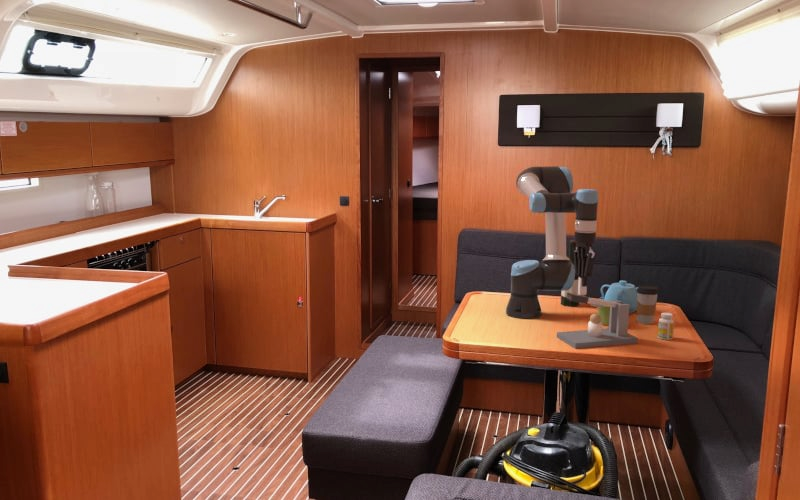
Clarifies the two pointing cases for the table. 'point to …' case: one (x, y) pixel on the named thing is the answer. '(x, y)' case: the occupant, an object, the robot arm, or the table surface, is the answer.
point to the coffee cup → (646, 303)
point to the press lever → (591, 300)
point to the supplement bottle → (666, 326)
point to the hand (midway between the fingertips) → (582, 294)
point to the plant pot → (604, 314)
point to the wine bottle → (575, 284)
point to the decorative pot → (621, 294)
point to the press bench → (602, 331)
